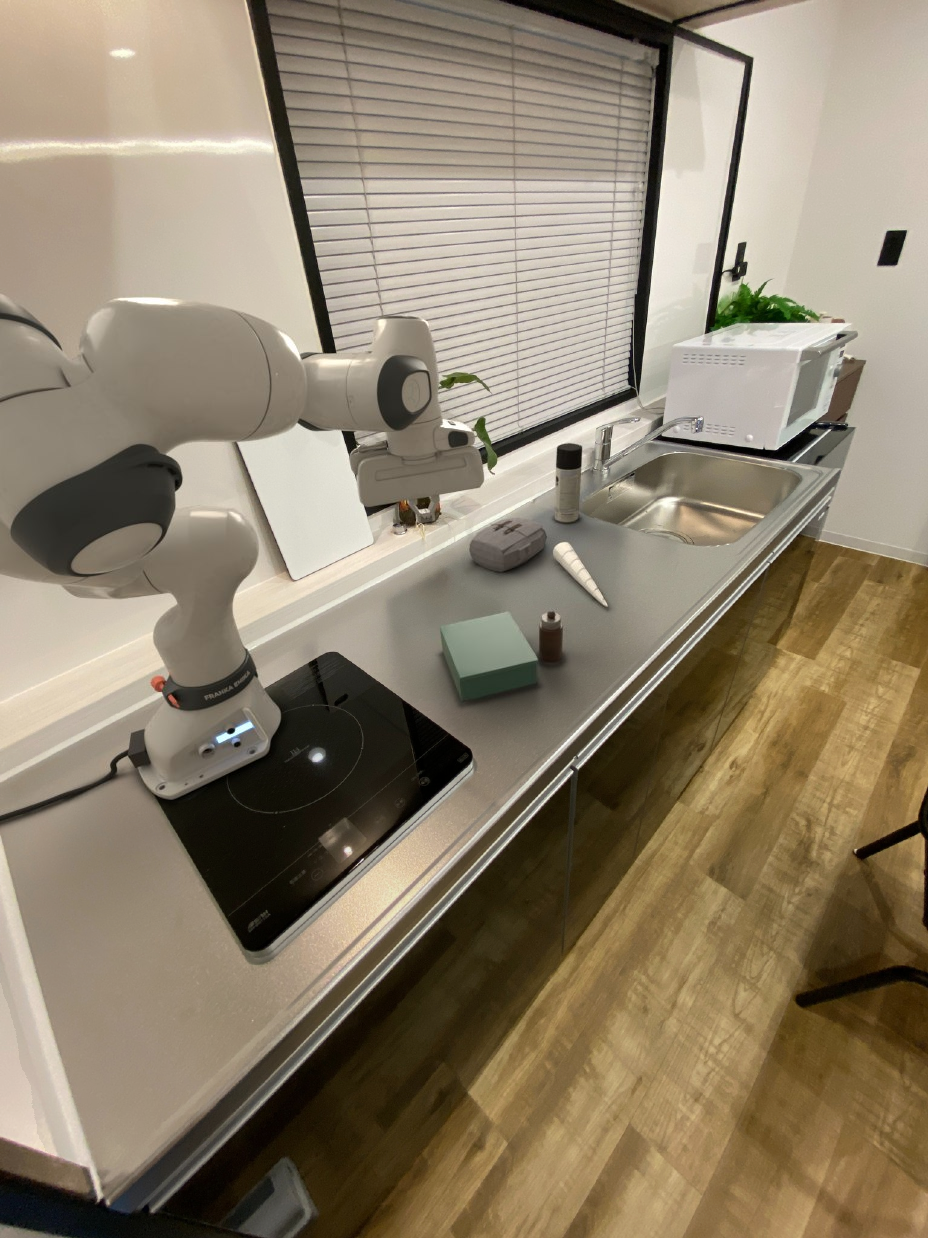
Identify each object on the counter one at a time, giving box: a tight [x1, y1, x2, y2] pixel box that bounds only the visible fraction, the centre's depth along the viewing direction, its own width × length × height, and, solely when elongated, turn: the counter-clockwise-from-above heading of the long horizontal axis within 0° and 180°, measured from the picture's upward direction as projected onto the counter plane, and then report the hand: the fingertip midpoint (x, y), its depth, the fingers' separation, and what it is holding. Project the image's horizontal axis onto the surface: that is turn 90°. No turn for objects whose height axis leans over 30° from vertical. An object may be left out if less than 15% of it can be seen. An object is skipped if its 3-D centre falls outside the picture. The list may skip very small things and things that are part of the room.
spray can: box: [554, 442, 583, 524], centre depth 143 cm, size 7×7×20 cm
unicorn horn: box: [552, 541, 609, 608], centre depth 119 cm, size 5×24×5 cm, turn 12°
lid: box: [439, 611, 539, 681], centre depth 94 cm, size 15×14×1 cm
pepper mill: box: [538, 610, 564, 664], centre depth 96 cm, size 4×4×11 cm
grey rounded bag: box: [468, 517, 548, 573], centre depth 132 cm, size 15×8×20 cm
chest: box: [439, 630, 538, 702], centre depth 96 cm, size 15×14×6 cm
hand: (425, 521), depth 89 cm, fingers closed
